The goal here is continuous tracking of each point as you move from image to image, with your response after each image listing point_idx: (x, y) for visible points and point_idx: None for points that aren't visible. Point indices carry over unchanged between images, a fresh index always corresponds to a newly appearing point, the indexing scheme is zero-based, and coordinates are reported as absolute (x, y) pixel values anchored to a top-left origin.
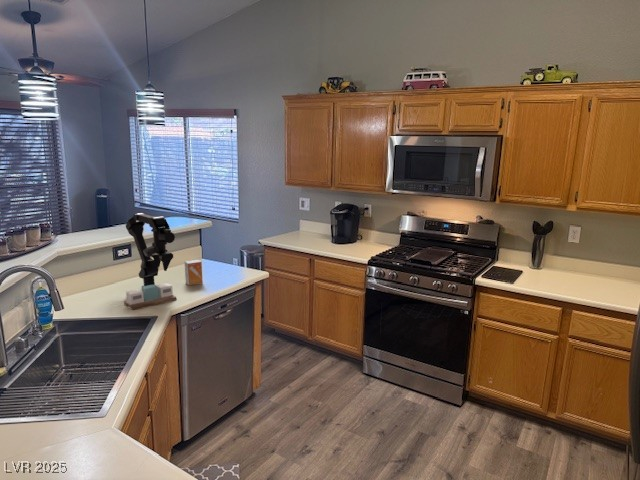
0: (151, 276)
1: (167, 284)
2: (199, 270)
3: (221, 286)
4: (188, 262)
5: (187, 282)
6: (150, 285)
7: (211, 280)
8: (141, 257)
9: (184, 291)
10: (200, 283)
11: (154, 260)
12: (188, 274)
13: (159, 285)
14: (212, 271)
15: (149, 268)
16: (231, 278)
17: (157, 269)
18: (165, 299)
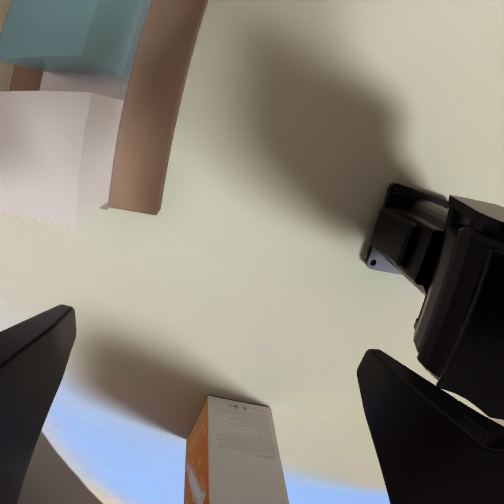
0: (433, 274)
1: (32, 199)
2: (187, 498)
3: (80, 441)
4: None
5: (235, 409)
6: (75, 16)
7: None
8: None
9: (121, 320)
10: (189, 435)
11: (471, 412)
12: (207, 454)
13: (59, 119)
14: (302, 501)
15: (477, 285)
16: (158, 497)
17: (420, 354)
18: None
